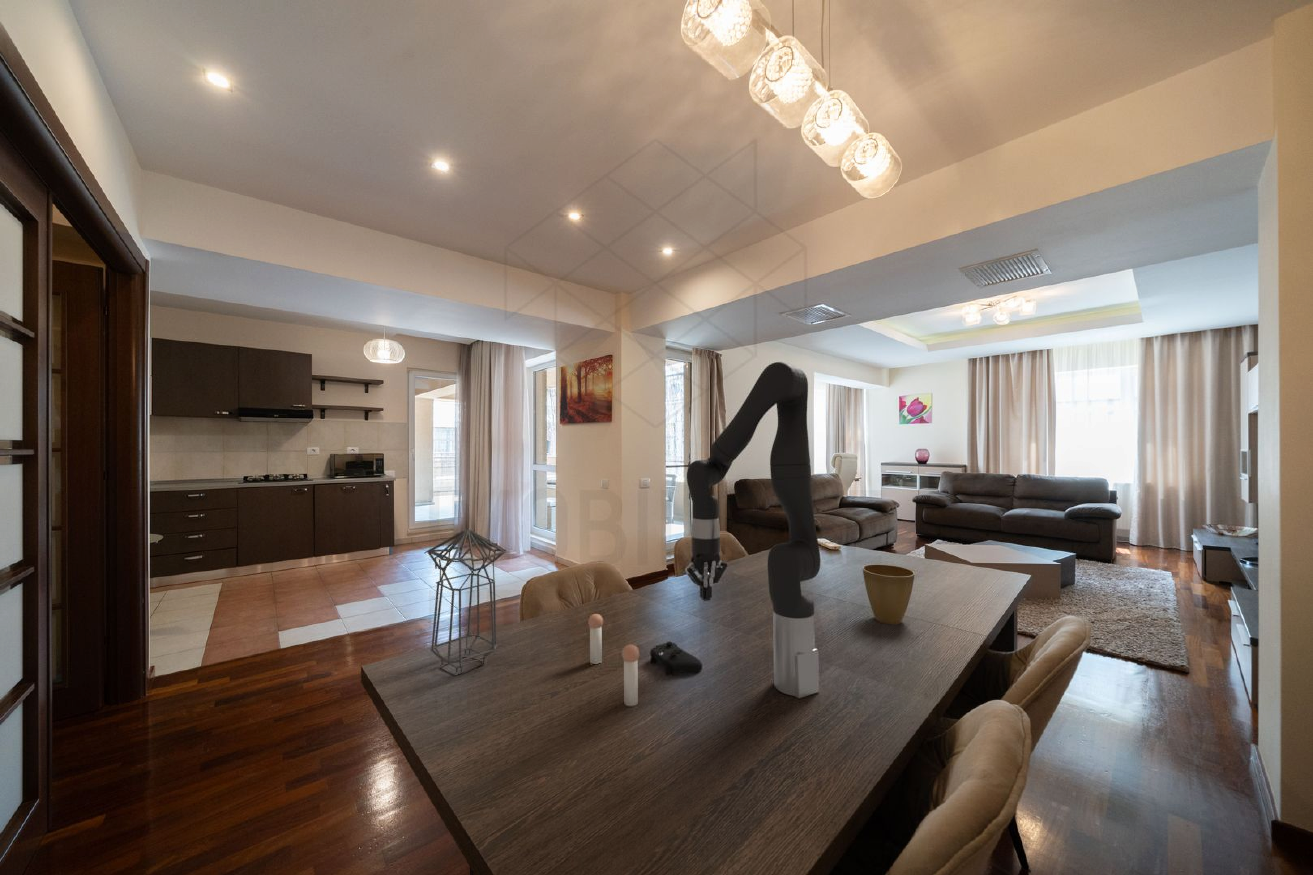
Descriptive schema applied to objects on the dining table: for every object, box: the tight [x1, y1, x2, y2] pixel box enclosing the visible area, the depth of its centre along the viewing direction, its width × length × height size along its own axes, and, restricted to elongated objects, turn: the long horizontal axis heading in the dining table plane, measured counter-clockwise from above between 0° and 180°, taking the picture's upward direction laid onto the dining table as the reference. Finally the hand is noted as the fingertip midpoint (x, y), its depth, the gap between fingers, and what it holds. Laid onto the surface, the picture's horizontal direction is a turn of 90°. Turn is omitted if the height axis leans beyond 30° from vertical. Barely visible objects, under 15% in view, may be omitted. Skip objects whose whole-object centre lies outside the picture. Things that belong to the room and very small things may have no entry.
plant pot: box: [862, 563, 916, 625], centre depth 151 cm, size 15×15×16 cm
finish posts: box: [588, 613, 640, 707], centre depth 114 cm, size 26×4×12 cm, turn 27°
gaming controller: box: [649, 641, 703, 676], centre depth 122 cm, size 14×6×10 cm
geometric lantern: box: [424, 529, 508, 673], centre depth 122 cm, size 16×16×35 cm
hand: (706, 599), depth 127 cm, fingers closed
